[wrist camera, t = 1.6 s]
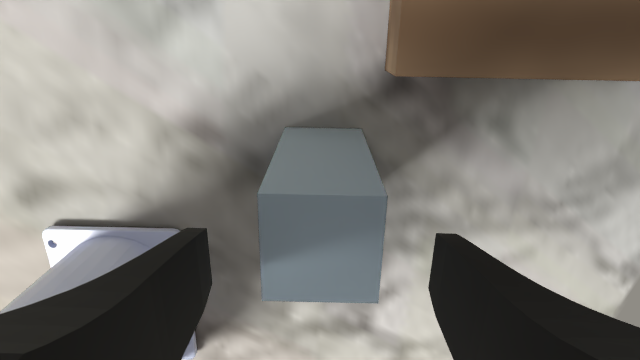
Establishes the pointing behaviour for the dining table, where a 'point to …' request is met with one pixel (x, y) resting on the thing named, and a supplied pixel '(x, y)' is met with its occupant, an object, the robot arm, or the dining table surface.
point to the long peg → (321, 218)
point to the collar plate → (515, 39)
